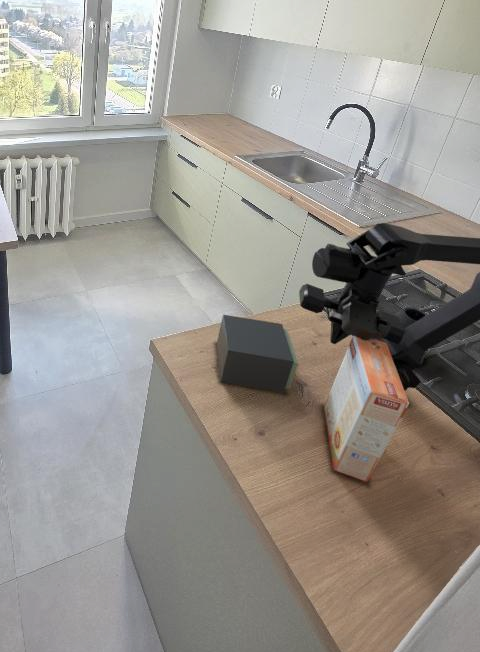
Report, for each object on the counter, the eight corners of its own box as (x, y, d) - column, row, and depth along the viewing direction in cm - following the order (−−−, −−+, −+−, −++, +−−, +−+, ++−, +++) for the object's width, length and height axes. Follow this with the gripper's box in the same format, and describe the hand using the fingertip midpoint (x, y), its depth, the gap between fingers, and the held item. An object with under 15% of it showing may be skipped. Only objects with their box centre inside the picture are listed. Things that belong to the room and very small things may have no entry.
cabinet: (273, 353, 101) (282, 323, 97) (283, 392, 91) (294, 361, 87) (216, 343, 102) (223, 314, 99) (220, 381, 93) (228, 350, 89)
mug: (420, 372, 98) (438, 335, 93) (375, 350, 103) (391, 314, 98) (427, 344, 106) (444, 309, 101) (385, 325, 111) (400, 291, 107)
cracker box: (369, 484, 74) (411, 404, 66) (332, 471, 76) (368, 391, 67) (354, 416, 86) (388, 341, 78) (322, 406, 88) (352, 331, 79)
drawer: (285, 354, 99) (292, 330, 96) (295, 389, 90) (304, 364, 87) (226, 344, 101) (232, 320, 98) (231, 378, 92) (237, 352, 89)
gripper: (318, 289, 77) (287, 349, 84) (432, 330, 72) (390, 391, 79) (313, 259, 87) (286, 315, 93) (413, 294, 82) (377, 351, 88)
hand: (332, 342), depth 88 cm, fingers closed
